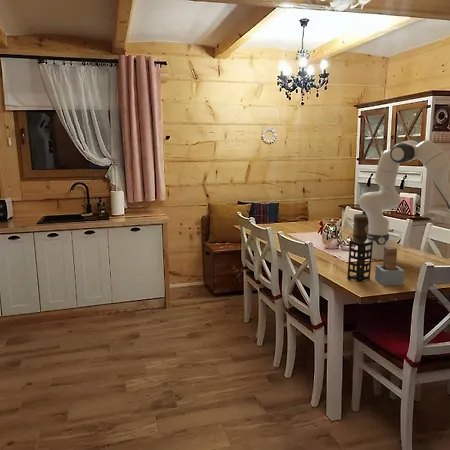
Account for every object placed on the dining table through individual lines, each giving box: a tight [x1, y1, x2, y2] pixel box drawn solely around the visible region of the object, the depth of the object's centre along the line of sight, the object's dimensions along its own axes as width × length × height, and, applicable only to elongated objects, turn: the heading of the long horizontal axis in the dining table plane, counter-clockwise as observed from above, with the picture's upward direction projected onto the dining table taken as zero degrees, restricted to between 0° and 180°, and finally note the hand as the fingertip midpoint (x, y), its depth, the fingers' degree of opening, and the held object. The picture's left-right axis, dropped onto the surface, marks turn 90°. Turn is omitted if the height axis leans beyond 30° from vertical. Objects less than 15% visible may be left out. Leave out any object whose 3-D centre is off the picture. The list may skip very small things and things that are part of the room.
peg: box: [382, 245, 398, 270], centre depth 202 cm, size 4×4×16 cm
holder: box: [346, 240, 373, 282], centre depth 206 cm, size 11×8×20 cm
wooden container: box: [352, 210, 369, 243], centre depth 292 cm, size 15×15×22 cm
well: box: [374, 264, 405, 286], centre depth 202 cm, size 10×10×7 cm
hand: (426, 217), depth 205 cm, fingers open, 8 cm apart
